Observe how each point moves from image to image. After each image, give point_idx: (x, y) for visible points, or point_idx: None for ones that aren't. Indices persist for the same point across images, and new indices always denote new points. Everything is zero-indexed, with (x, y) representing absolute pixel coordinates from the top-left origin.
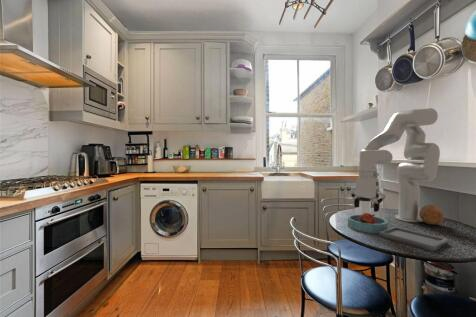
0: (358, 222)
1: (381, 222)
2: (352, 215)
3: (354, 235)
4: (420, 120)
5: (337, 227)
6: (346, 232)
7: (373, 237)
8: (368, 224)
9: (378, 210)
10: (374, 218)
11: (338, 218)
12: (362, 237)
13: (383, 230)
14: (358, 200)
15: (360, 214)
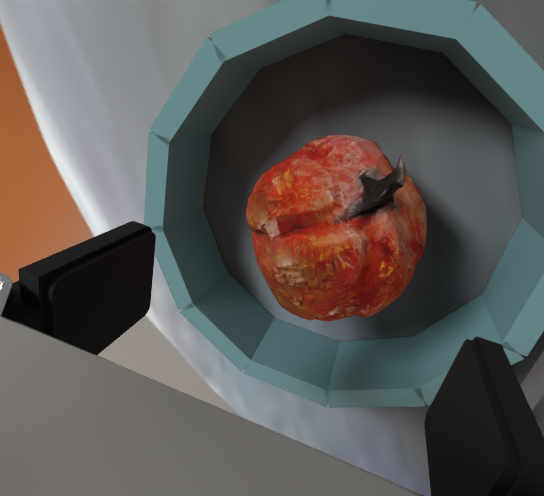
0: (295, 392)
1: (487, 85)
2: (155, 171)
3: (323, 448)
4: None
5: (180, 345)
6: (264, 415)
7: None
8: (384, 404)
9: (499, 346)
10: (411, 220)
11: (54, 85)
12: (375, 464)
13: (525, 382)
14: (64, 310)
15: None
